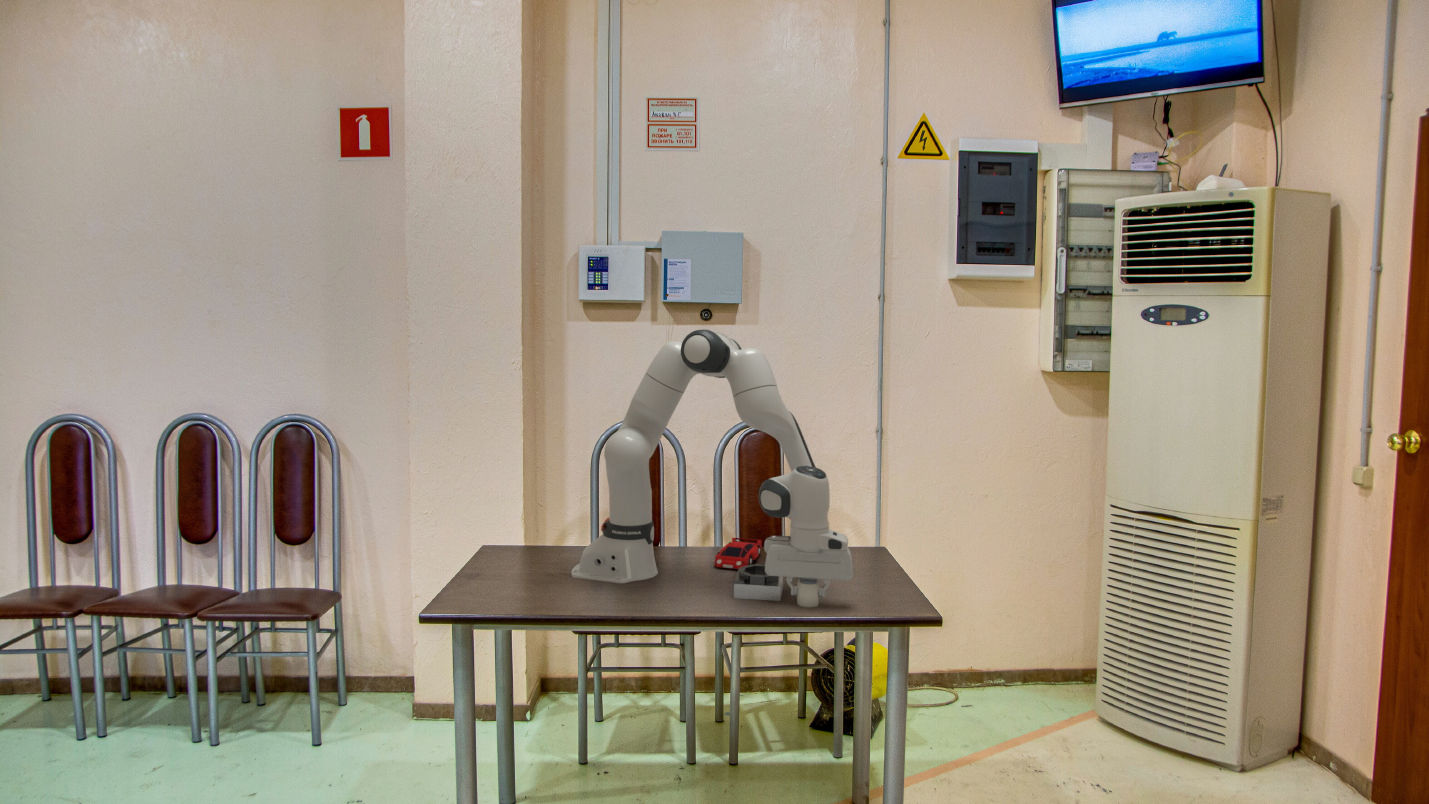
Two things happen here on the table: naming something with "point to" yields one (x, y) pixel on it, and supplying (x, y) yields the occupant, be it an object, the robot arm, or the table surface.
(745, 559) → the toy car
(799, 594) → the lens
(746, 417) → the robot arm
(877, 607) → the table surface
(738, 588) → the grey ring holder
